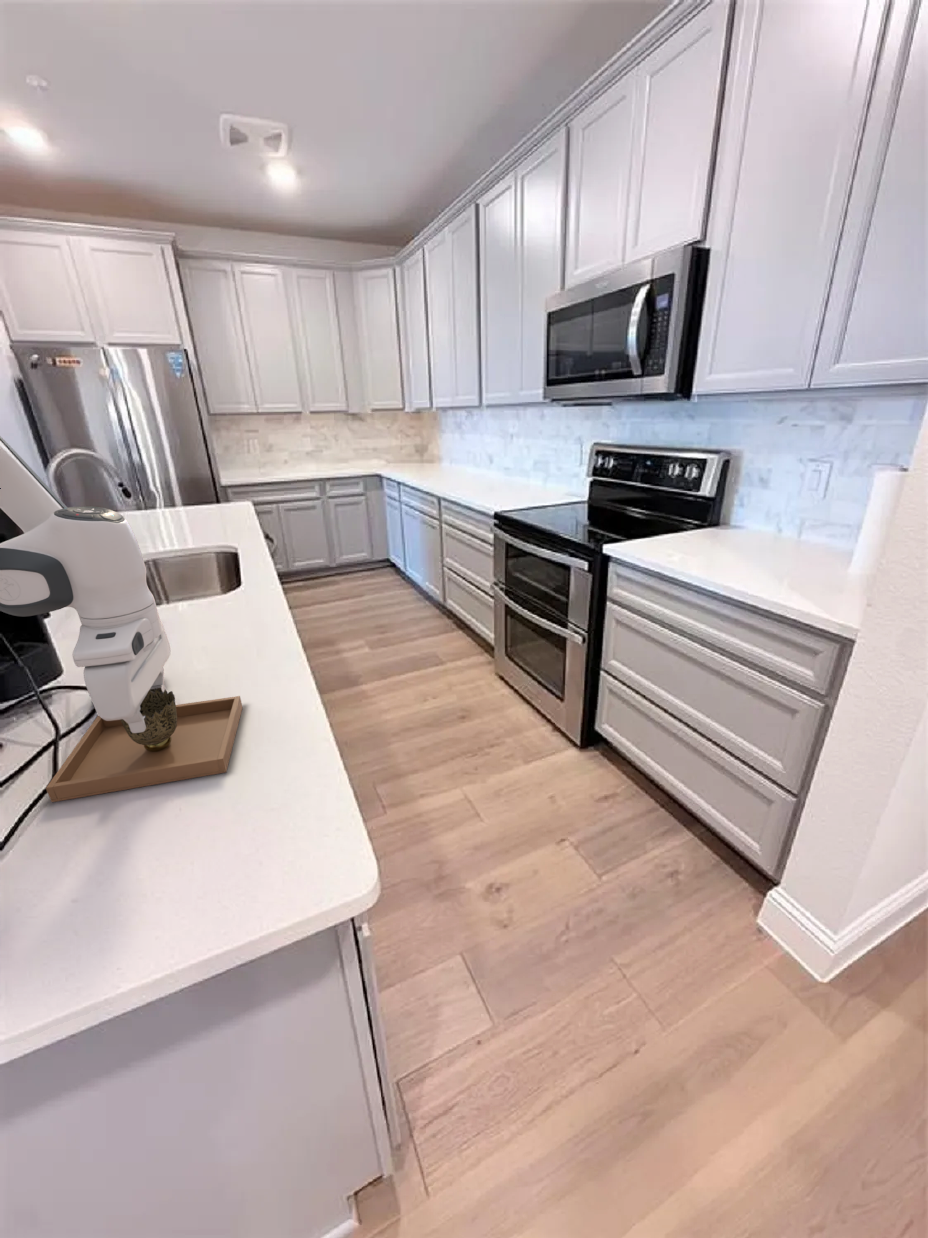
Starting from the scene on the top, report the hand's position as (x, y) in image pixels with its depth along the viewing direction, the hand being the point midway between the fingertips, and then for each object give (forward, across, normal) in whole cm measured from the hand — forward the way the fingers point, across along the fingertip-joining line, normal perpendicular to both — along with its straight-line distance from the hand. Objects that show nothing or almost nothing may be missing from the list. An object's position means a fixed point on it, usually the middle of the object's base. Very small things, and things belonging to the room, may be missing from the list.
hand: (150, 711), depth 75 cm
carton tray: (+7, 0, 0) cm, 7 cm away
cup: (+6, 0, 0) cm, 6 cm away
